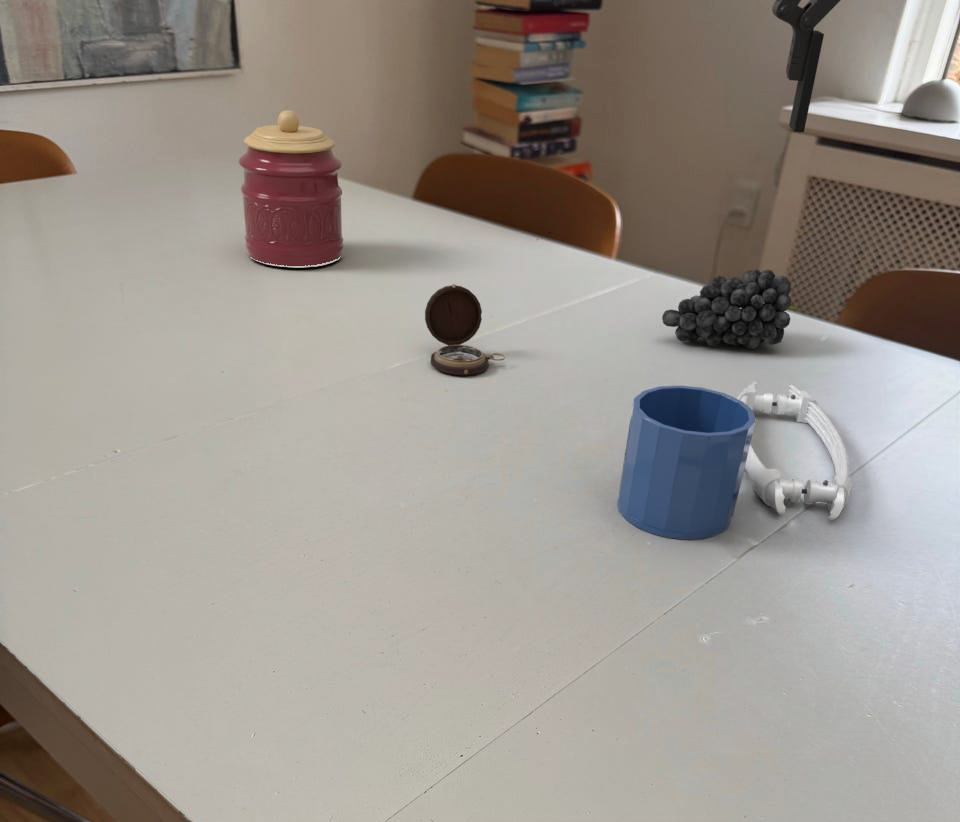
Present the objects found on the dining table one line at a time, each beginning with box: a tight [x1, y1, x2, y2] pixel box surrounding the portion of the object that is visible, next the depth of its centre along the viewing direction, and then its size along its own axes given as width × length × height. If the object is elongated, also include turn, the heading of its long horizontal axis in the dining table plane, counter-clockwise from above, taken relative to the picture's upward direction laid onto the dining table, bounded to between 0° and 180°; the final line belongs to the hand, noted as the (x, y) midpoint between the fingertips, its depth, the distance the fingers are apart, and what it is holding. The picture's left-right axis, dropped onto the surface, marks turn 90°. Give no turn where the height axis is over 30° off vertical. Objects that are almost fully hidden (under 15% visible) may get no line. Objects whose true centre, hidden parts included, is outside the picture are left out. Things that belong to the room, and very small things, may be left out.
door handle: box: [737, 380, 853, 521], centre depth 92 cm, size 3×10×25 cm
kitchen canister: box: [238, 109, 344, 266], centre depth 130 cm, size 13×13×18 cm
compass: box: [424, 283, 506, 376], centre depth 105 cm, size 8×8×7 cm
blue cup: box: [617, 385, 756, 540], centre depth 81 cm, size 9×9×9 cm
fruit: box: [661, 269, 797, 350], centre depth 115 cm, size 9×8×15 cm
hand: (884, 135), depth 78 cm, fingers open, 13 cm apart
